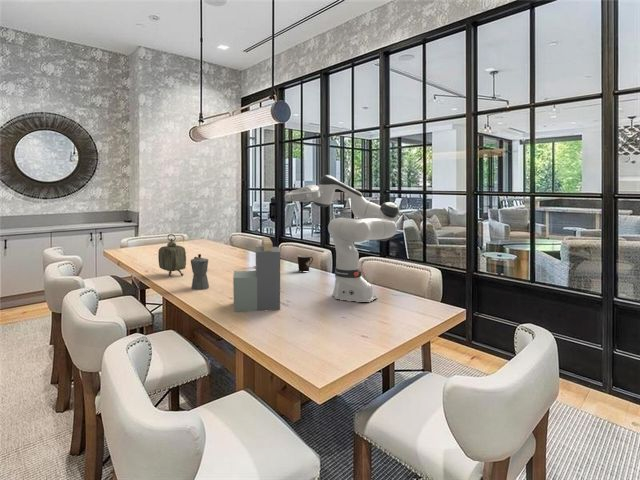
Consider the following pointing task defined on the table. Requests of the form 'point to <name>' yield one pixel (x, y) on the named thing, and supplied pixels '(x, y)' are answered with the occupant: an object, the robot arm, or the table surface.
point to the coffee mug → (304, 262)
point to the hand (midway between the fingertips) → (298, 197)
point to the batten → (267, 244)
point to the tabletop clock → (172, 257)
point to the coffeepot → (199, 273)
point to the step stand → (259, 283)
